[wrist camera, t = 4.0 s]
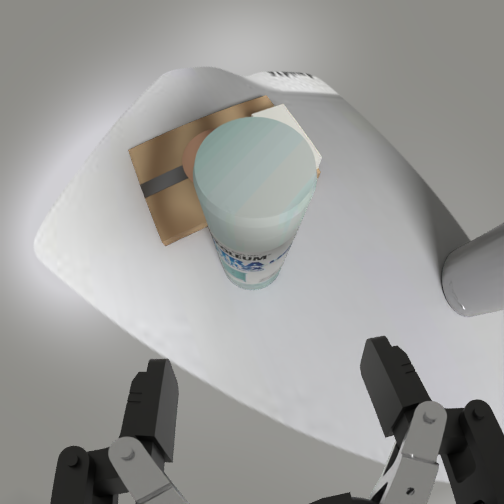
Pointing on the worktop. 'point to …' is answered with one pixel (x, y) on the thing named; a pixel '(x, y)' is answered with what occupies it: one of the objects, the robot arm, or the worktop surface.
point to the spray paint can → (254, 194)
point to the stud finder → (285, 117)
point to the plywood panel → (181, 170)
